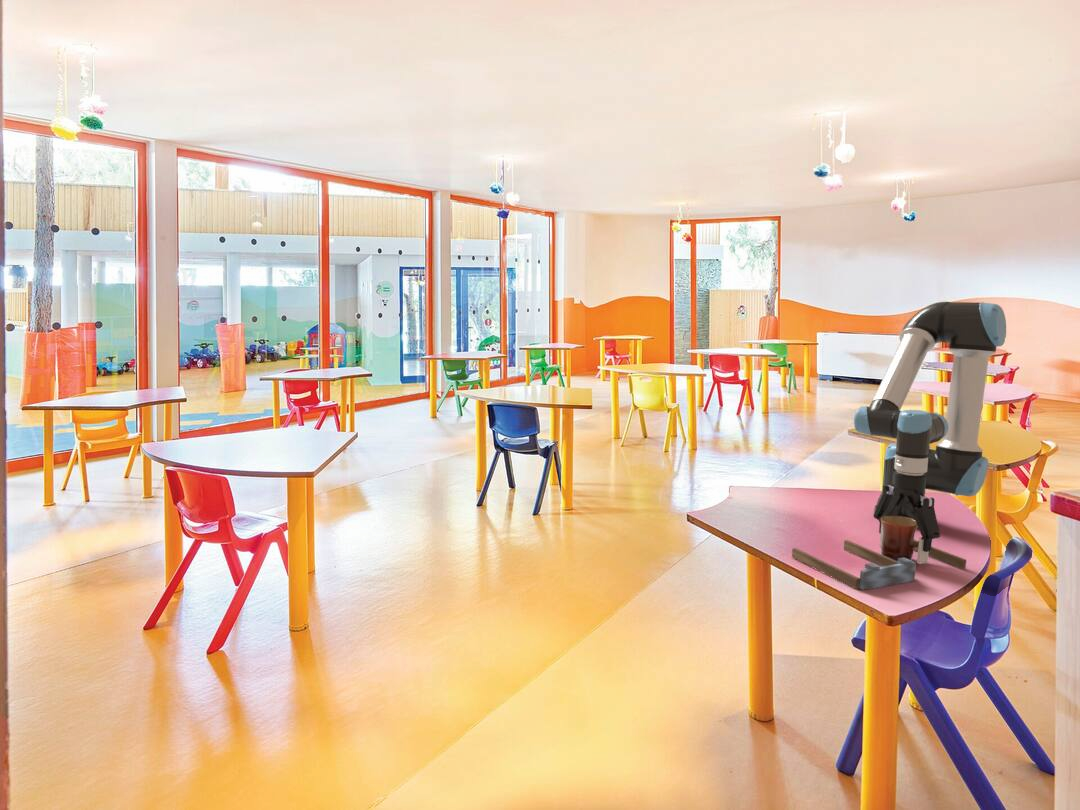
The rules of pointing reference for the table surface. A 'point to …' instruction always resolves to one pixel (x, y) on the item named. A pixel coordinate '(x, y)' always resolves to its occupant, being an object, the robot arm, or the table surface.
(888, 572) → the bar
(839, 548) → the table surface
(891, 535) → the mug
